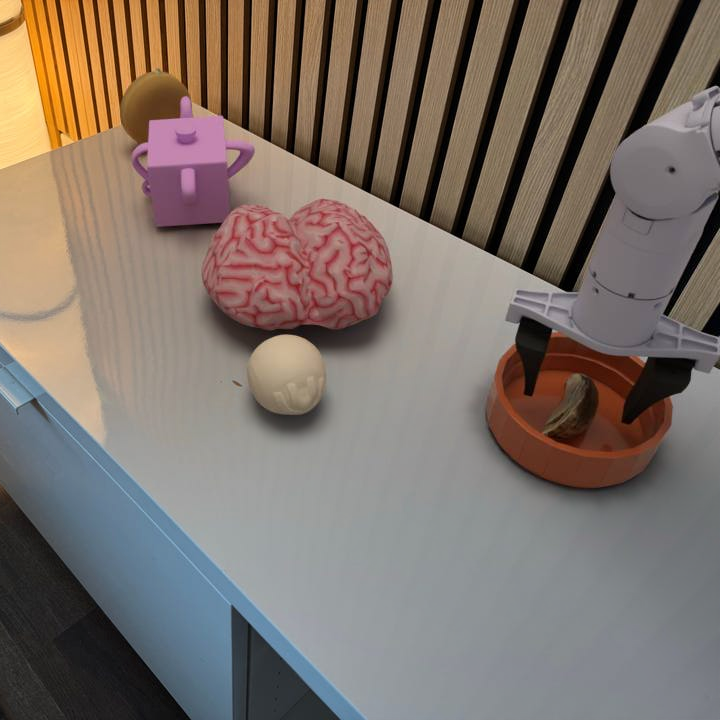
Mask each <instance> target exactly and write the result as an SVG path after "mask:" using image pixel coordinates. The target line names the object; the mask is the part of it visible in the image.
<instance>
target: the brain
mask: <svg viewBox="0 0 720 720" xmlns="http://www.w3.org/2000/svg"><path fill="white" fill-rule="evenodd" d="M391 260H392V259H391V254H390V251H389V247H388V245H387V242H386V240H385V238H384V237H383V235H382V234H381V232H380V230H378V229H377V227H376V226H375V225H374V224H373V223H372V222H371V221H369V219H367V217H366V216H365V215H363V214H361V213H359V212H358V210H357V209H356V208H353V207H351V206H350V205H348V204H346V203H343V202H340V201H338V200H334V199H327V198H319V199H316V200H314V201H312V202H310V203H308V204H306V205H303V206H301V207H300V208H299V209H296V211H295V212H294V213H293V214H292V216H290V218H289V219H288V217H286V216H285V215H284V214H282V213H281V212H277V211H274V210H271V209H270V208H269V207H267V206H262V205H259V204H242V205H239V206H237V207H235V208H234V209H232V211H230V213H229V215H228V216H227V217H226V218H225V220H224V222H221V225H220V227H219V228H218V229H217V230H216V233H215V234H214V235H213V237H212V239H211V242H210V244H209V247H208V250H207V252H206V254H205V257H204V259H203V261H202V265H201V279H202V283H203V286H204V288H205V291H206V293H207V294H208V296H209V297H210V298H211V300H212V301H213V302H214V303H215V304H216V305H217V307H218V308H219V309H220V310H221V311H222V312H223V313H225V314H226V315H227V316H228V317H229V318H231V319H232V320H234V321H236V322H238V323H239V324H242V325H245V326H247V327H251V328H259V329H261V330H265V331H275V330H280V329H281V330H294V329H295V328H298V327H299V326H301V325H314V326H315V325H316V326H321V327H324V328H326V329H331V330H343V329H346V328H348V327H350V326H351V327H352V326H354V325H356V324H358V323H360V322H362V321H364V320H368V319H371V318H373V316H375V315H377V313H378V312H379V309H380V307H381V304H382V302H383V301H384V299H385V298H386V296H388V294H389V292H390V290H391V288H392V284H393V277H394V276H393V275H394V274H393V266H392V261H391Z"/></svg>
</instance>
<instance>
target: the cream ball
mask: <svg viewBox="0 0 720 720" xmlns="http://www.w3.org/2000/svg"><path fill="white" fill-rule="evenodd" d="M246 365H247V366H246V377H247V384H248V386H249V389H250V392H251V394H252V395H253V398H255V400H256V401H257V402H258V403H259V405H260V406H262V407H263V408H264V409H265V410H268V412H271V413H274V414H279V415H283V416H284V415H285V416H287V415H293V416H298V415H299V416H300V415H304V414H306V413H308V412H311V411H312V410H313V409H314V408H315V407H316V406H317V405H318V404H319V403H320V402H321V400H322V398H323V395H324V393H325V388H326V385H327V370H326V365H325V360H324V358H323V356H322V354H321V352H320V351H319V350H318V348H317V346H316V345H314V344H313V343H312V342H310V341H309V340H308V339H306V338H304V337H301V336H298V335H293V334H280V335H279V334H278V335H275V336H273V337H272V336H271V337H270V338H268V339H266V340H264V341H263V342H261V343H260V344H259V345H258V346H257V347H256V348H255V349H254V350H253V352H252V354H251V356H250V358H249V360H248V363H247V364H246Z"/></svg>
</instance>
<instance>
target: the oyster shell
mask: <svg viewBox="0 0 720 720" xmlns="http://www.w3.org/2000/svg"><path fill="white" fill-rule="evenodd" d="M565 383H566V384H567V385H566V388H565V398H564V399H563V400H562V402H561V403H560V405H559V406H558V407H557V408H556V409H555V410H554V411H553V412H552V414H551V415H550V417H549V418H548V420H547V421H546V423H545V424H546V425H545V429H544V431H543V432H542V434H543V435H545V436H547V437H549V438H551V439H552V440H554V441H556V442H557V441H562V440H565V439H567V438H570V437H573V436H574V435H578V434H580V433H582V432H583V431H585V430H586V429H587V428H588V427H589V425H590V424H591V423H592V421H593V419H594V417H595V414H596V411H597V408H598V404H599V400H598V399H599V391H598V389H597V387H596V386H595V384H594V381H593V380H592V379H591V378H590V377H588V376H586V375H584V374H578V373H577V374H573V375H571V376H570V377H569V378H568V379H566V380H565Z"/></svg>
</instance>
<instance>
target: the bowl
mask: <svg viewBox="0 0 720 720" xmlns="http://www.w3.org/2000/svg"><path fill="white" fill-rule="evenodd" d="M645 363H646V361H645V362H644V360H642V359H641V358H639V356H615V355H609V354H604V353H601V352H598V351H595V350H593V349H591V348H589V347H587V346H585V345H583V344H581V343H579V342H577V341H575V340H573V339H571V338H569V337H567V336H565V335H563V334H561V333H559V332H557V331H552V334H551V337H550V340H549V344H548V348H547V352H546V355H545V357H544V360H543V362H542V364H541V367H540V371H539V374H538V378H537V382H536V386H535V390H534V393H533V395H532V397H530V396H527V395H524V394H523V393H524V389H525V375H524V368H523V364H522V361H521V358H520V355H519V353H518V351H517V349H516V345H515V343H514V344H512V345H511V346H510V347H509V348H508V349H507V350H506V351H505V352H504V354H502V356H501V357H500V358H499V360H498V363H497V366H496V370H495V372H494V376H493V379H492V383H491V386H490V389H489V393H488V396H487V400H486V403H485V410H486V417H487V424H488V427H489V429H490V430H491V432H492V435H493V436H494V438H495V440H496V441H497V444H499V446H500V447H501V448H502V450H504V452H505V454H507V455H508V456H509V457H510V458H511V459H512V460H513V461H514V462H515V463H517V464H518V465H520V466H521V467H523V469H525V470H527V471H529V472H530V473H532V474H533V475H535V476H537V477H540V478H542V479H544V480H546V481H550V482H553V483H555V484H560V485H562V486H567V487H573V488H582V489H595V488H597V489H599V488H603V487H610V486H614V485H620V484H624V483H626V482H627V481H629V480H631V479H632V478H634V477H637V476H638V475H639V474H641V473H642V472H644V470H645V469H646V468H647V466H648V465H649V463H650V462H651V460H652V459H653V458H654V456H655V454H656V453H657V450H658V449H659V447H660V446H661V444H662V442H663V441H664V439H665V437H666V435H667V434H668V432H669V431H670V429H671V427H672V423H673V411H674V404H673V401H672V399H671V396H670V397H667V398H665V399H663V400H661V401H659V402H657V403H655V404H654V405H652V406H651V407H649V408H648V409H647V410H645V411H644V412H643V413H642V414H640V415H639V416H638V417H637V418H636V419H635V420H634V421H633V422H632V423H631V424H630V425H628V424H624V423H621V420H622V414H623V407H624V404H625V401H626V399H627V397H628V394H629V393H630V391H631V389H632V388H633V386H634V384H635V383H636V381H637V379H638V378H639V376H640V374H641V372H642V370H643V368H644V365H645ZM577 373H578V374H584V375H586V376H588V377H590V378H591V379H592V380H593V381H594V384H595V386H596V387H597V389H598V391H599V399H598V400H599V404H598V408H597V411H596V414H595V417H594V419H593V421H592V423H591V424H590V425H589V427H588V428H587V429H586V430H585V431H583V432H582V433H580V434H578V435H574V436H573V437H570V438H567V439H565V440H562V441H557V442H556V441H554V440H552V439H551V438H549V437H547V436H545V435H543V434H542V432H543V431H544V429H545V425H546V424H545V423H546V421H547V420H548V418H549V417H550V415H551V414H552V412H553V411H554V410H555V409H556V408H557V407H558V406H559V405H560V403H561V402H562V400H563V399H564V398H565V388H566V385H567V384H566V383H565V380H566V379H568V378H569V377H570V376H571V375H573V374H577Z"/></svg>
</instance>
